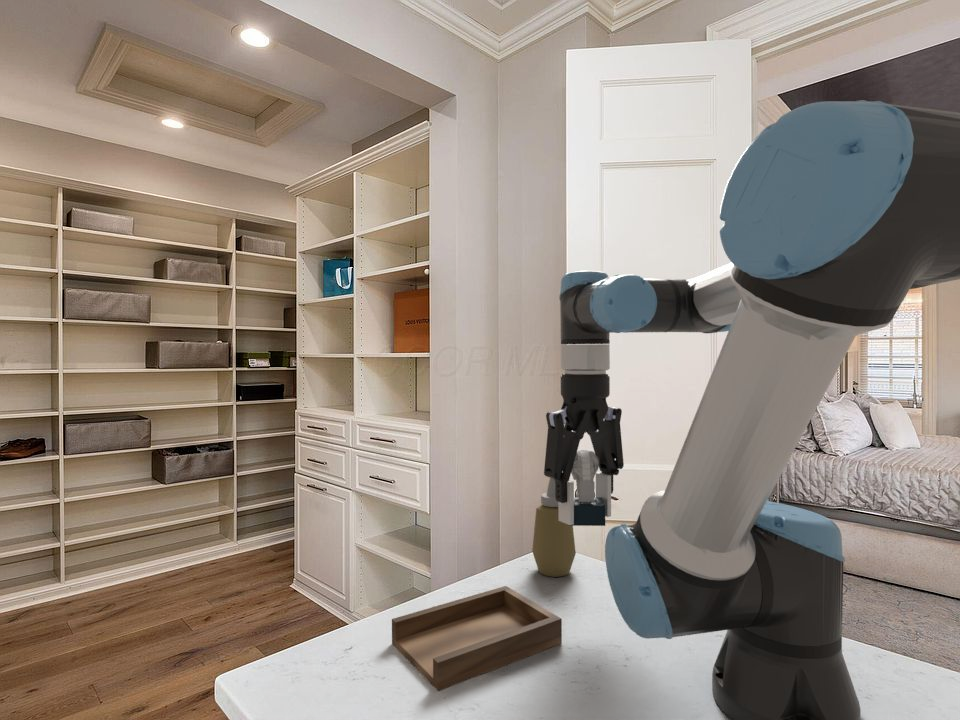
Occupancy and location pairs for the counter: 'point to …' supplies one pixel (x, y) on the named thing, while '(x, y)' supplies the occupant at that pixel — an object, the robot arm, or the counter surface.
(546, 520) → the squeeze bottle
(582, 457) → the watch
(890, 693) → the counter surface
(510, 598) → the walnut track
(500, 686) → the counter surface
